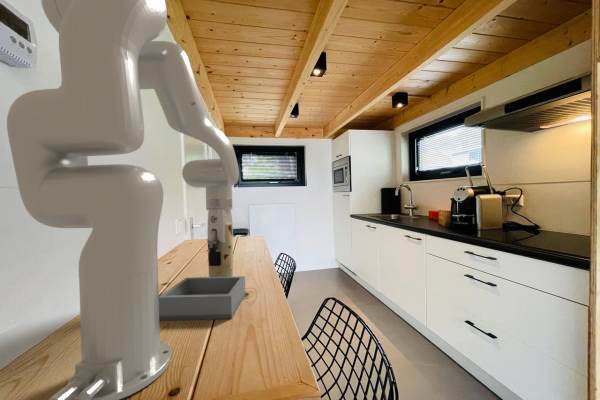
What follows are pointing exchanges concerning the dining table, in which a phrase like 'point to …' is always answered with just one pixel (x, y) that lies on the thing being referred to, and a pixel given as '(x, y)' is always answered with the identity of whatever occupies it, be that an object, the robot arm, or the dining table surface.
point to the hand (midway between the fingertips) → (220, 261)
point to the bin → (202, 298)
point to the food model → (224, 256)
